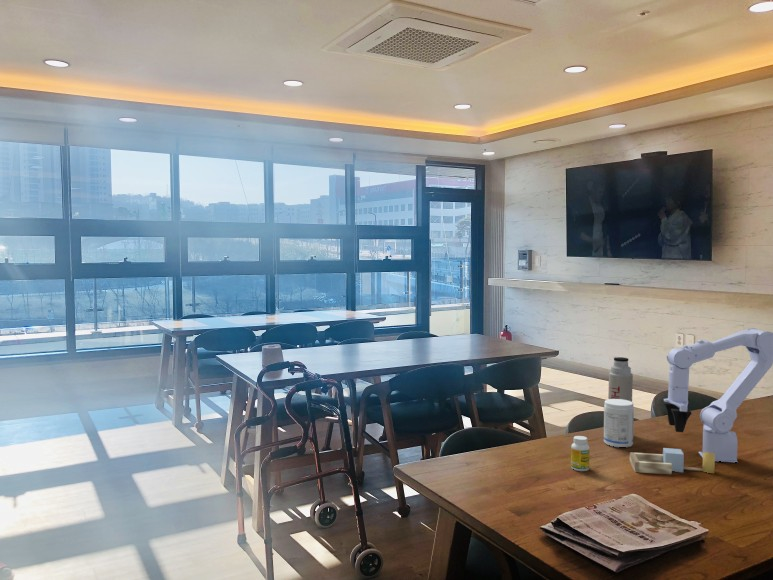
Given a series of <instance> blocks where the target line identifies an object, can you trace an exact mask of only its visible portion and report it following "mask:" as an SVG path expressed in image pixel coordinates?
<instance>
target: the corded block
mask: <svg viewBox="0 0 773 580" xmlns="http://www.w3.org/2000/svg"><path fill="white" fill-rule="evenodd" d="M702 452H703V451H702ZM662 454H663V463H671V464H672V471H675V472H674V473H684V470H686V471H687V470H689V471H698V472H700V471H701V472H702V473H704V472H707V473H706V474H708V473H713V474H715V464H716V461H715V454H714V453H710V452H703V458H702V468H700V467H699V468H698V467H690V466H689V467H687V466H684V463H685V462H684V461H685V460H684V459H685V454H684V452H683V450H682V448H672V447H671V448H669V447H668V448H667V447H663V448H662Z"/></svg>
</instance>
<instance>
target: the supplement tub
mask: <svg viewBox="0 0 773 580" xmlns="http://www.w3.org/2000/svg"><path fill="white" fill-rule="evenodd" d="M603 407H604V408H603V442H604V443H605V444H606V445H607V446H609V445H610V447H613V446H614V447H613V448H619V447H626V448H629V447H632V446H633V444H634V417H635V415H634V412H635V411H634V409H635V406H634V402H633V401H632V402H631V401H628V400H623V399H606V400H604V406H603Z"/></svg>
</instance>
